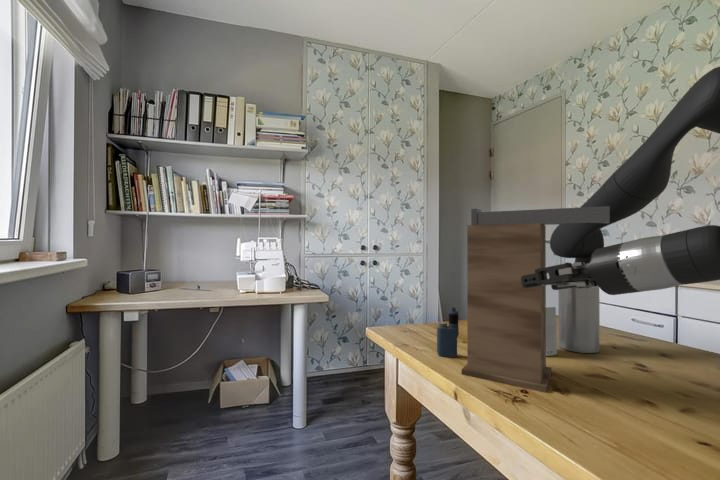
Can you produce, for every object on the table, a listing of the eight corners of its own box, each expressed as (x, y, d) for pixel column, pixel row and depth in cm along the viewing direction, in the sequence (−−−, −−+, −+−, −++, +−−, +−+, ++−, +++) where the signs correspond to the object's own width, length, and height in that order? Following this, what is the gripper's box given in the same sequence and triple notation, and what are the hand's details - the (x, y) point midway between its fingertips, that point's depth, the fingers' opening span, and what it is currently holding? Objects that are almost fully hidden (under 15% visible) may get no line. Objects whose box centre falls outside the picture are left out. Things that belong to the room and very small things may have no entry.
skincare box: (558, 354, 86) (557, 306, 86) (544, 356, 84) (544, 307, 84) (537, 347, 92) (537, 302, 92) (524, 349, 90) (524, 303, 90)
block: (475, 226, 79) (475, 210, 79) (608, 223, 66) (608, 203, 66) (471, 225, 76) (471, 208, 76) (609, 222, 62) (609, 201, 62)
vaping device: (459, 358, 83) (459, 309, 84) (437, 356, 84) (437, 308, 85) (458, 354, 86) (458, 307, 86) (437, 353, 87) (436, 306, 87)
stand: (476, 358, 83) (476, 227, 83) (551, 372, 74) (551, 225, 75) (461, 374, 73) (461, 225, 73) (545, 392, 64) (545, 223, 65)
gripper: (654, 246, 55) (557, 266, 68) (604, 236, 48) (508, 260, 62) (667, 293, 53) (565, 304, 66) (617, 289, 46) (515, 302, 60)
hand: (537, 283), depth 64 cm, fingers open, 8 cm apart
